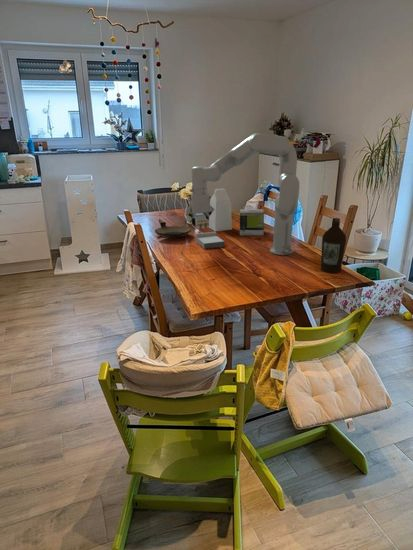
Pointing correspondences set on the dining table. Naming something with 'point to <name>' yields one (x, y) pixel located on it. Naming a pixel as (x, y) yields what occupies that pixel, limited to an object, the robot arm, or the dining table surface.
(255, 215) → the tea box
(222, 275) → the dining table surface
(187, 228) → the oil lamp
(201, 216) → the tote
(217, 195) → the milk
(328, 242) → the olive oil
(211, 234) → the dock
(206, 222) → the pallet
